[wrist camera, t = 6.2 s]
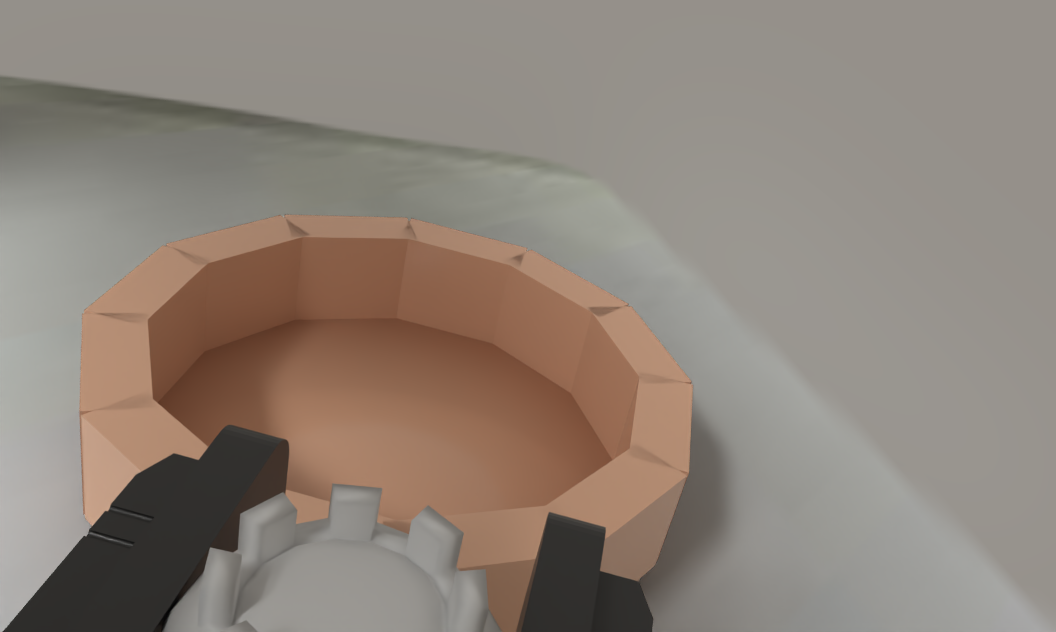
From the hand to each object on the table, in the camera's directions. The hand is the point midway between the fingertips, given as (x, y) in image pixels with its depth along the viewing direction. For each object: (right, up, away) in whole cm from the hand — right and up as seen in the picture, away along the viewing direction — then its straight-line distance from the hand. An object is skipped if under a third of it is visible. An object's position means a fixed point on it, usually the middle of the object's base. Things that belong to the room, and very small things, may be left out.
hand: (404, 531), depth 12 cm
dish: (-2, -1, +10) cm, 10 cm away
